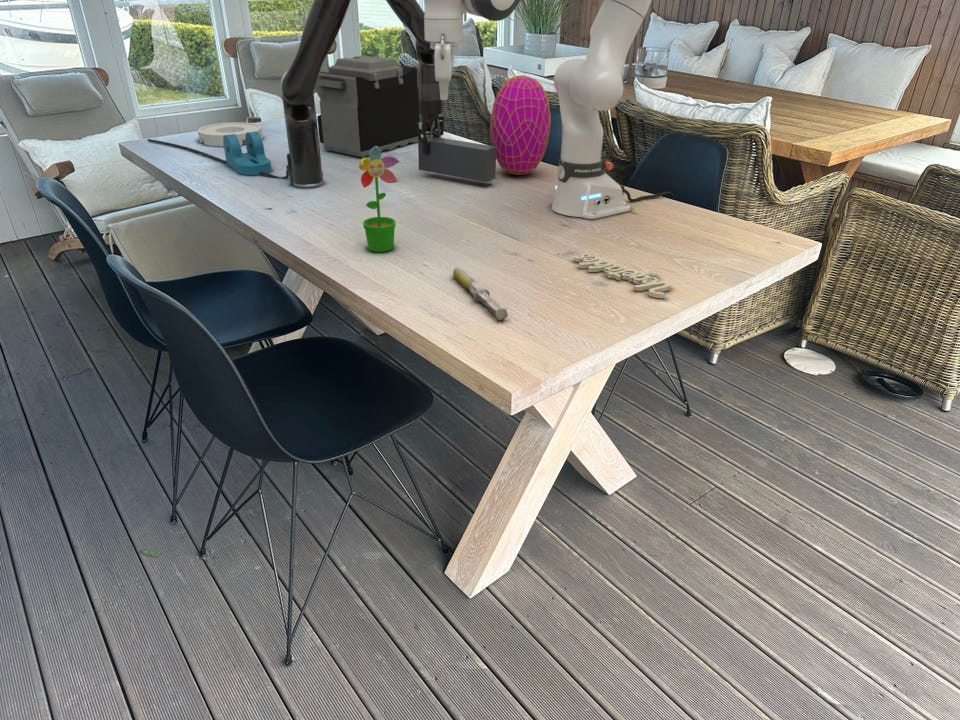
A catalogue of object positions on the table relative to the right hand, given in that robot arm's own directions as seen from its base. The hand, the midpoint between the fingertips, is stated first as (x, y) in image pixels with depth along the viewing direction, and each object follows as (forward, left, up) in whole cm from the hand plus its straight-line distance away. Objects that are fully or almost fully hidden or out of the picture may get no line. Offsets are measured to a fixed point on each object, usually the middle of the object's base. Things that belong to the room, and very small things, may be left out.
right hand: (444, 96), depth 165 cm
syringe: (+8, +42, -33) cm, 54 cm away
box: (-18, -41, -31) cm, 55 cm away
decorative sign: (-27, +43, -33) cm, 61 cm away
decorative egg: (-40, -41, -33) cm, 66 cm away
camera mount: (+42, -77, -33) cm, 94 cm away
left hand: (-12, -49, -26) cm, 56 cm away
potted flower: (+20, +8, -33) cm, 39 cm away
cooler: (-3, -95, -33) cm, 100 cm away
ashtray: (+45, -123, -33) cm, 135 cm away
